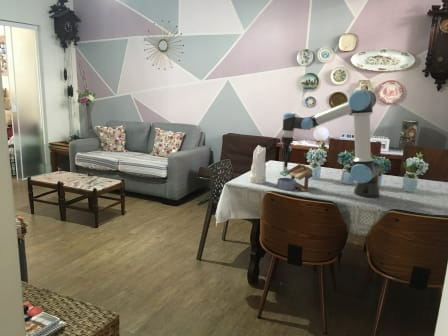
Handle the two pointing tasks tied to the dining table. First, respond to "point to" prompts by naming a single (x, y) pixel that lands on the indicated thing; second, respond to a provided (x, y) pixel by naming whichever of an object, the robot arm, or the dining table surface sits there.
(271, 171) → the dining table surface
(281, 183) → the grey round container
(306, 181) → the pivot stand
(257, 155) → the decorative vase
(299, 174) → the tipping tray
